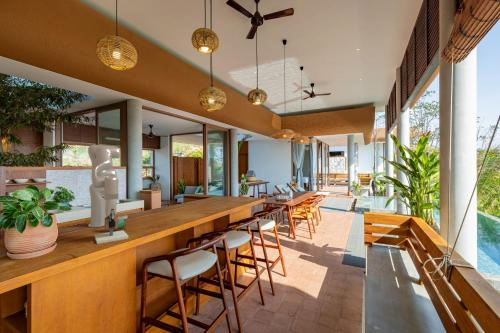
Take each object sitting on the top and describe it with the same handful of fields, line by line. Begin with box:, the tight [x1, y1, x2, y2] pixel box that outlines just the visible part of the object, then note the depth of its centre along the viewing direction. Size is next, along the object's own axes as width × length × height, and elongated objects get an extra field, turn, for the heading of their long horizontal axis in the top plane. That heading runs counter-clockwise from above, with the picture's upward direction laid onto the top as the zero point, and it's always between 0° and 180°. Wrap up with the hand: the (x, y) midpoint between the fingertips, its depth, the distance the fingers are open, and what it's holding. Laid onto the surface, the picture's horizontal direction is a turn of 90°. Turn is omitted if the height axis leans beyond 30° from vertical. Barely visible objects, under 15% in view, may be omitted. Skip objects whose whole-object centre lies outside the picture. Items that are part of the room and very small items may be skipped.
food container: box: [113, 215, 129, 232], centre depth 157 cm, size 12×6×10 cm, turn 101°
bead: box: [104, 215, 118, 230], centre depth 142 cm, size 6×6×6 cm
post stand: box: [94, 229, 129, 245], centre depth 142 cm, size 16×16×10 cm
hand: (111, 225), depth 142 cm, fingers closed on bead, 6 cm apart
